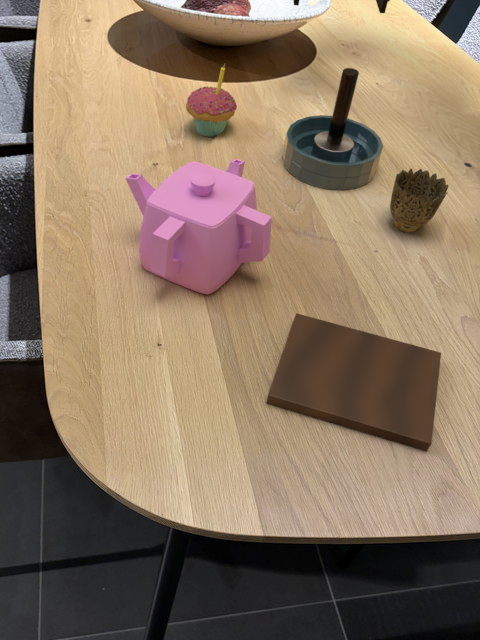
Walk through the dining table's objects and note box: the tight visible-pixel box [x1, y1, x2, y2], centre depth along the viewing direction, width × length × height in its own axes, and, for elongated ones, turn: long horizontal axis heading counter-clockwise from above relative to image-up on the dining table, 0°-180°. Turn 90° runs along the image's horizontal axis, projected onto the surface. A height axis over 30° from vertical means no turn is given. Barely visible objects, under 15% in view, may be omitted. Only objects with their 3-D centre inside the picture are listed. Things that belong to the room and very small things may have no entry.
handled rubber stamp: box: [311, 67, 360, 163], centre depth 95 cm, size 6×6×15 cm
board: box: [266, 312, 442, 452], centre depth 70 cm, size 18×14×2 cm
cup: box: [389, 168, 449, 234], centre depth 88 cm, size 8×7×8 cm
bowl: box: [282, 114, 384, 191], centre depth 99 cm, size 15×15×5 cm
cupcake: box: [185, 63, 238, 138], centre depth 102 cm, size 9×8×12 cm
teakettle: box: [125, 158, 273, 296], centre depth 79 cm, size 17×17×12 cm
